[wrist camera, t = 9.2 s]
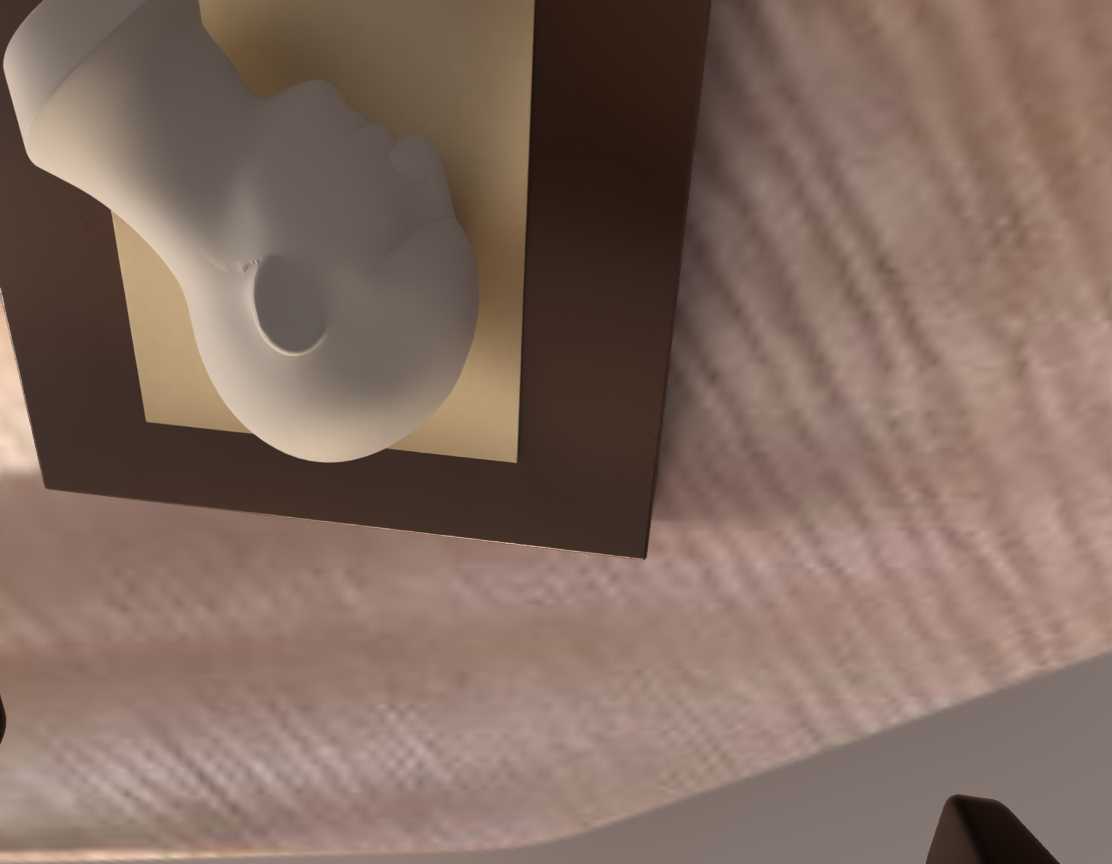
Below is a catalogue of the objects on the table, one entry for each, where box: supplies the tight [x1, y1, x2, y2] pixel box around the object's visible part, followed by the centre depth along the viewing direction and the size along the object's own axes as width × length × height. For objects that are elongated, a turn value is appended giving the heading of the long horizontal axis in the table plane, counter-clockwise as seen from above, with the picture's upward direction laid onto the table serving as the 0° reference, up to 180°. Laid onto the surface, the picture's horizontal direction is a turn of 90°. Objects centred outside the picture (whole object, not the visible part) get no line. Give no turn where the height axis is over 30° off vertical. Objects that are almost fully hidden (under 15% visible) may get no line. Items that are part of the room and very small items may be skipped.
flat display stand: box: [0, 0, 711, 560], centre depth 15 cm, size 16×13×4 cm
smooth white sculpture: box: [3, 0, 480, 462], centre depth 14 cm, size 4×8×5 cm
